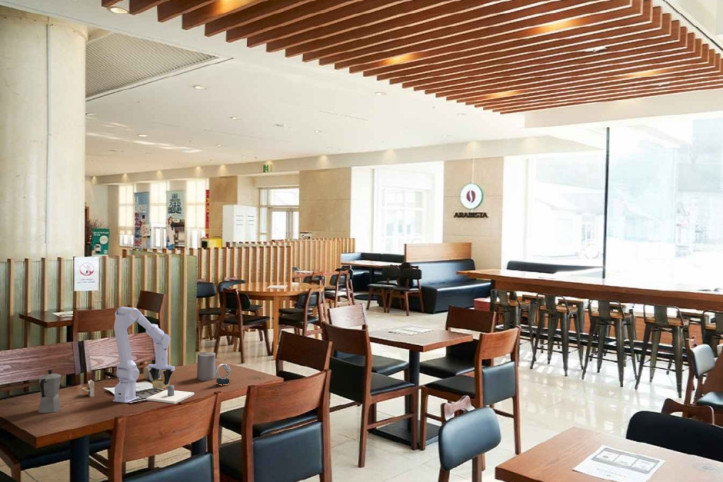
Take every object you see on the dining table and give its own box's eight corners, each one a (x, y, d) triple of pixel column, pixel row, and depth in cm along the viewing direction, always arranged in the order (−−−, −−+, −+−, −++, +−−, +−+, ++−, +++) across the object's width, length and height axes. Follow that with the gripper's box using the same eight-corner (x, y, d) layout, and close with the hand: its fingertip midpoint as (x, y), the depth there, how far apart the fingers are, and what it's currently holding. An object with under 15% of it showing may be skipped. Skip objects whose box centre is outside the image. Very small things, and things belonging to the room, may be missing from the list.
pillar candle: (196, 376, 323) (197, 349, 323) (214, 375, 326) (215, 349, 326) (197, 381, 314) (197, 353, 313) (215, 380, 317) (216, 352, 316)
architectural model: (86, 398, 279) (86, 383, 279) (81, 395, 284) (82, 380, 284) (94, 397, 282) (94, 381, 281) (89, 394, 287) (89, 379, 287)
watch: (232, 384, 309) (232, 363, 309) (219, 386, 303) (219, 365, 303) (226, 382, 313) (226, 361, 313) (213, 384, 307) (213, 364, 307)
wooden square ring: (162, 388, 291) (162, 382, 291) (152, 387, 292) (152, 380, 292) (169, 386, 296) (169, 379, 296) (159, 385, 298) (159, 378, 298)
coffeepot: (45, 405, 265) (45, 366, 265) (66, 405, 266) (67, 366, 266) (29, 416, 250) (29, 374, 249) (52, 416, 250) (52, 374, 250)
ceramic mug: (142, 378, 316) (142, 364, 316) (157, 376, 321) (157, 362, 321) (149, 383, 308) (149, 368, 308) (164, 380, 313) (165, 366, 313)
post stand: (175, 403, 272) (175, 391, 272) (146, 400, 277) (146, 388, 277) (194, 394, 288) (194, 383, 288) (166, 391, 292) (166, 380, 292)
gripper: (178, 356, 296) (178, 383, 296) (154, 354, 300) (153, 380, 300) (170, 359, 289) (169, 386, 289) (145, 356, 293) (145, 383, 293)
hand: (161, 383), depth 294 cm, fingers closed on wooden square ring, 6 cm apart
